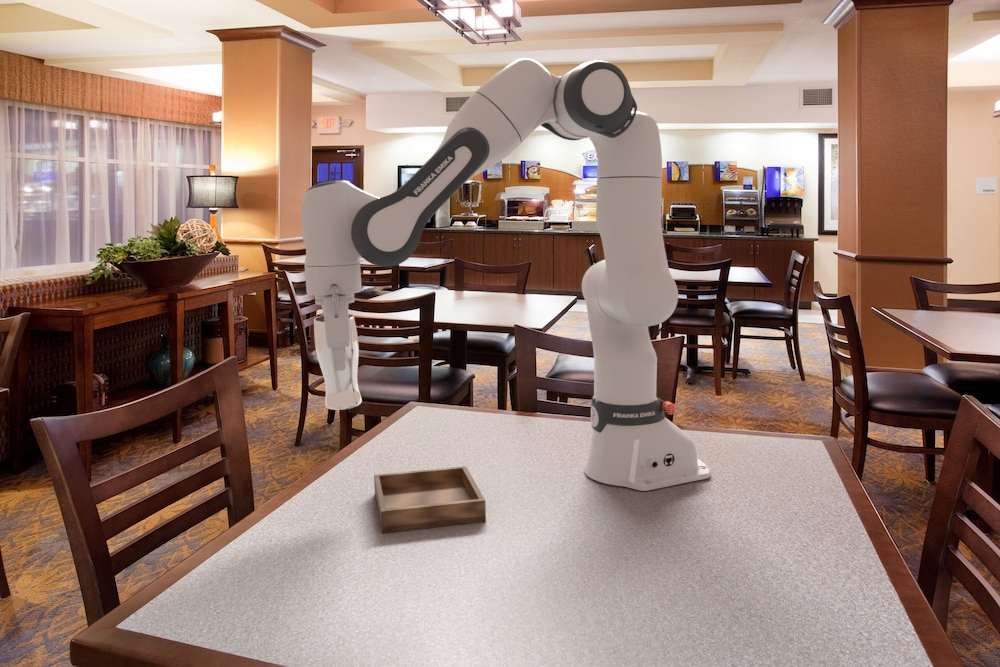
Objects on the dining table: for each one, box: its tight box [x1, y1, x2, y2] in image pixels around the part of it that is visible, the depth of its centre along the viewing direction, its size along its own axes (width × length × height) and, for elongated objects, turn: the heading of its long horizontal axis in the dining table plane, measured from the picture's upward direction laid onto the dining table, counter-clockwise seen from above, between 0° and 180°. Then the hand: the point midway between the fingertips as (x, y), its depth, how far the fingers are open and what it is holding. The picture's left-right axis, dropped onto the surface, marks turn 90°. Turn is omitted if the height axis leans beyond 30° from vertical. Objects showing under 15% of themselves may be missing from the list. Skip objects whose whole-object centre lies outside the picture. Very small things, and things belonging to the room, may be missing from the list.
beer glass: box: [313, 312, 363, 411], centre depth 120 cm, size 7×7×15 cm
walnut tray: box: [373, 465, 487, 534], centre depth 118 cm, size 16×16×4 cm
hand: (339, 365), depth 120 cm, fingers closed on beer glass, 6 cm apart
